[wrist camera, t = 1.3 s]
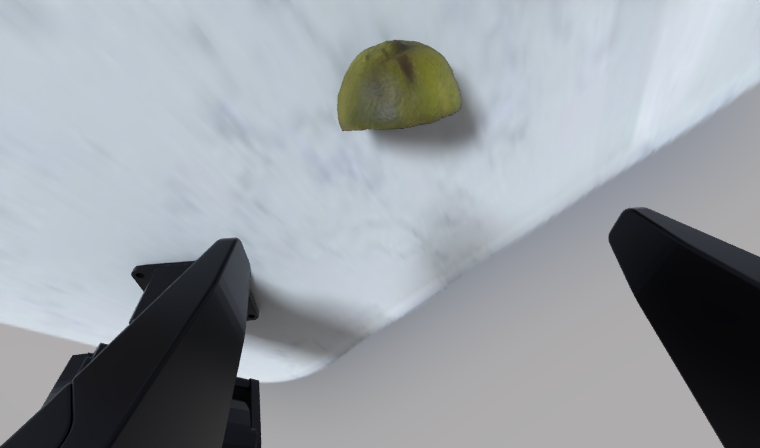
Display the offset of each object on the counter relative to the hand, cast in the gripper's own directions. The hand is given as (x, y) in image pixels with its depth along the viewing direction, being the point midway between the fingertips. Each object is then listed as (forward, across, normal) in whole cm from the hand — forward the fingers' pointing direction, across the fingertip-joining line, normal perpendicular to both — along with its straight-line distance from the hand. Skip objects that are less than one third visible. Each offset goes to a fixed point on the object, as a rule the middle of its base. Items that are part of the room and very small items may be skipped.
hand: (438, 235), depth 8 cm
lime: (+11, 0, 0) cm, 11 cm away
